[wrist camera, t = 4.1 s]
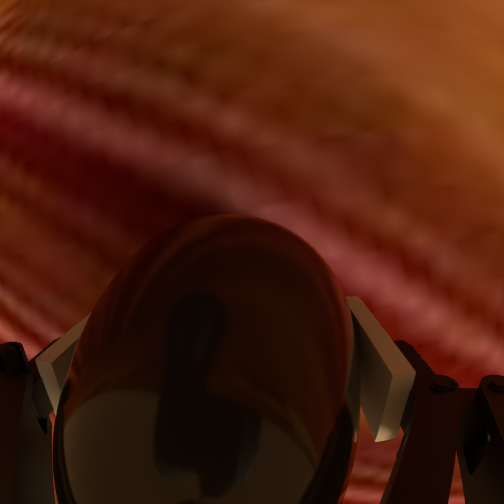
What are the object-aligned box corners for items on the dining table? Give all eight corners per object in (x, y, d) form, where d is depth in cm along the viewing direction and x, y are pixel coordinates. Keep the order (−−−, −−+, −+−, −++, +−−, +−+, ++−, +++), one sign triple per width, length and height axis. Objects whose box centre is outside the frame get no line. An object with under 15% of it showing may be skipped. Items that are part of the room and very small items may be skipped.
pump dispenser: (174, 388, 19) (88, 602, 4) (128, 227, 17) (-139, 347, 2) (337, 368, 18) (411, 608, 3) (316, 191, 16) (622, 267, 1)
